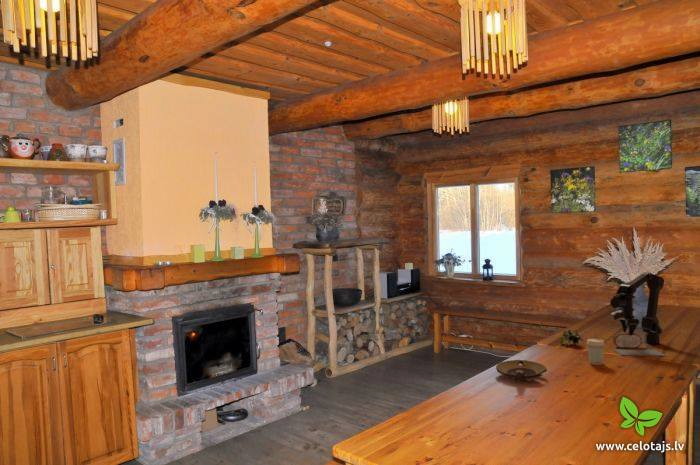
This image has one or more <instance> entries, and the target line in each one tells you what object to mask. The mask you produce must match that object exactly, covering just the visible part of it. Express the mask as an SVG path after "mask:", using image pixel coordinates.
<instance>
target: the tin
mask: <svg viewBox="0 0 700 465" xmlns="http://www.w3.org/2000/svg"><path fill="white" fill-rule="evenodd" d="M612 343H613V344H614V345H615V346H616V347H618V348H619V349H637V348H639V347H640V346H641V345H642V343H643V340H642V336H640V334H637V333H636V332H633V334H632V336H630V335H629V332H617V333H616V334H614V335H613V337H612Z"/></svg>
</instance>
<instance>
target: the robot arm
mask: <svg viewBox="0 0 700 465" xmlns="http://www.w3.org/2000/svg"><path fill="white" fill-rule="evenodd" d="M645 283H646V286H647V288H648V289H649V290H648V291H649V292H648V300H647V308H646V314H645V316H642V317H641V322H640V319H638V318H637V317H635V315H634V311H635V308H634V305H633V304H634V303H633V301H634V299H636V296H635V295H634V294H635V293H636V292H637V290H638V288H639V287H641V286H642V285H644V284H645ZM664 284H665V279H664V278H663V276H661V275H660V276H659V275H656V274H653V272H652V273H651V272H647V271H646V272H644V271H643V272H642V273H641V274H640V275H638V276H636V277H634V279H632V280H630V281H629V282H624V283H621V284H620V285H619V287H618V288H617V291H616V293H615V295H613V297H612V298H611V299H610V301H609V302H610V305H611V306H610V307H612V308H613V309H614V308H615V309H618V308H619V310H615V311H613V312H610V316H611V319H613V320H616V321H619V323H620V325H621V328H622V333H627V332H626V331H627V329H628V333H629V335H630V336H632V334H633V333H635V330H636V329H637V327H638V326H639V325H640V324H641V329H642V332H644V333H645V334H644V342H645V343H646V344H648V345H661V344H662V343H661V342H660V335H661V334H663V329H662V327H661V326H660V324H659V323H660V321H659V319H658V317H657V314H658V312H657V311H658V304H659V297H660V292H661V290H662V289H663V288H664Z"/></svg>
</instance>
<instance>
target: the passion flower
mask: <svg viewBox="0 0 700 465" xmlns="http://www.w3.org/2000/svg"><path fill="white" fill-rule="evenodd" d="M562 332H563V333H562V336H558V338H557V340H558V343H560V344H563V343H564V344H567V346H570V344H571V343H573V344H574V345H579V344H580V343H579V342H580V341H581V342H584V341H585V340H584V339H582V336H581V335H580V333H578V331H577V329H576V330H575V329H570V328H568V330H566V331H565V330H562ZM566 341H567V342H566Z"/></svg>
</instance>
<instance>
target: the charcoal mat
mask: <svg viewBox="0 0 700 465" xmlns="http://www.w3.org/2000/svg"><path fill="white" fill-rule="evenodd" d="M612 351H613V352H614V353H616V352H617V354H618V355H620V356H621V357H625V356H626V357H666V355H665V354H664V353H662V352H660V351H658V350H656V349H633V348H619V349H618V348H617V349H616V348H614V349H612Z"/></svg>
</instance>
